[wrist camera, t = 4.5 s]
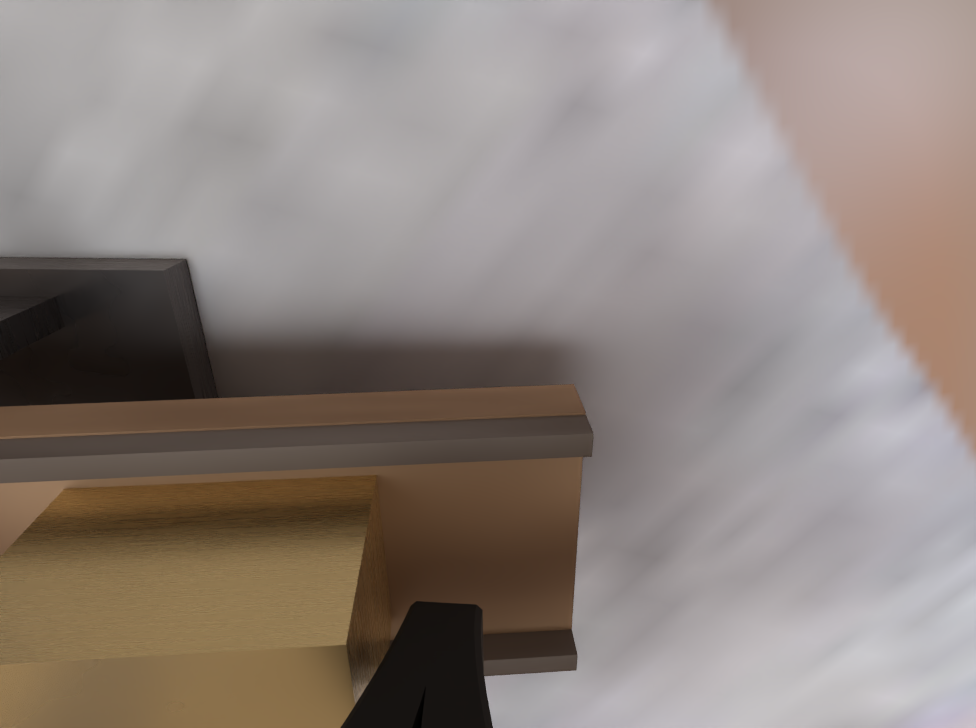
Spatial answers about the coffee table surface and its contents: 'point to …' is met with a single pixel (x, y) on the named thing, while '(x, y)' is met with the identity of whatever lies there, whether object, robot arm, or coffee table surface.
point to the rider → (195, 606)
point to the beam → (358, 452)
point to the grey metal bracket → (99, 332)
